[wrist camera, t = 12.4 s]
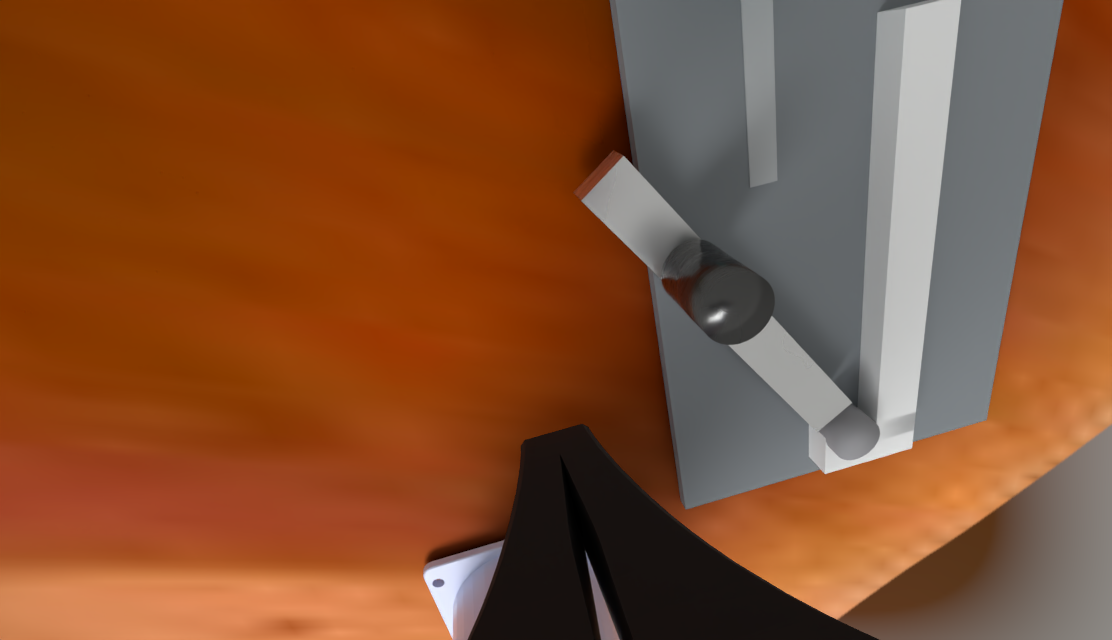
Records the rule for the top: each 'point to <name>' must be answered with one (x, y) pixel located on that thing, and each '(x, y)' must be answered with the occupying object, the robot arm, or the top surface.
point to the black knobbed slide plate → (710, 287)
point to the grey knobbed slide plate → (838, 209)
